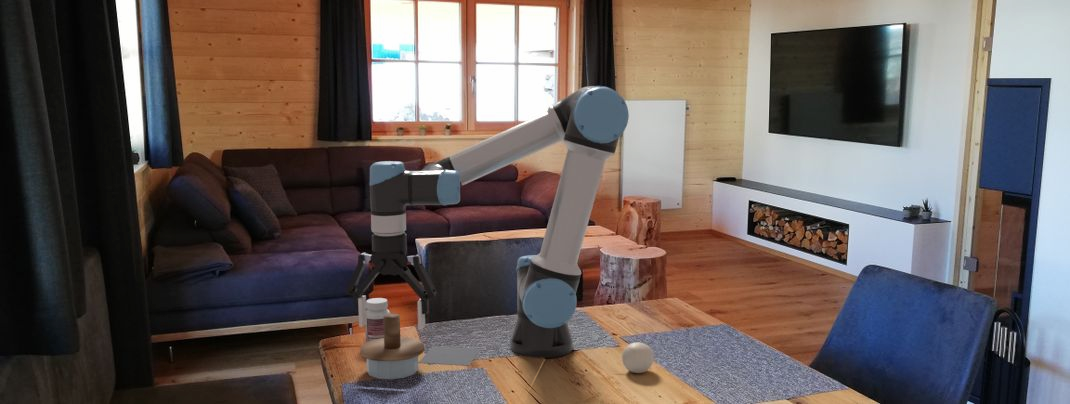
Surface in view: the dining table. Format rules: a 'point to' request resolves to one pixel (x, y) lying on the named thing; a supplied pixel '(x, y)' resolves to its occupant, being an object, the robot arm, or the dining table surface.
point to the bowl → (392, 368)
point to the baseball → (637, 357)
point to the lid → (392, 343)
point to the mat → (450, 355)
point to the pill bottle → (375, 318)
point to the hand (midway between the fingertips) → (392, 326)
